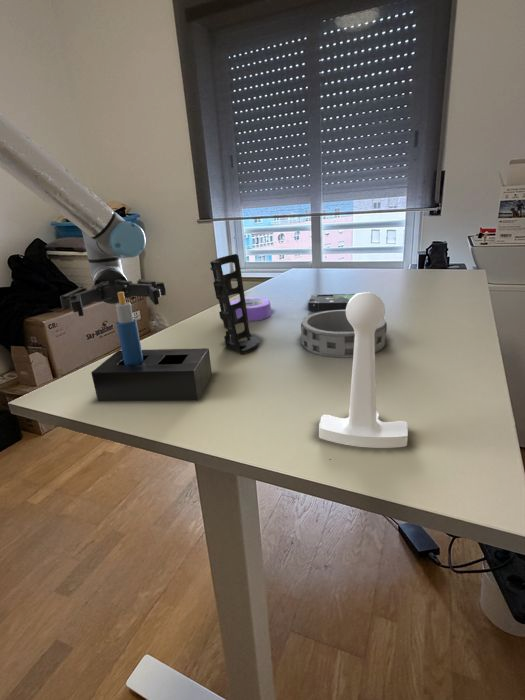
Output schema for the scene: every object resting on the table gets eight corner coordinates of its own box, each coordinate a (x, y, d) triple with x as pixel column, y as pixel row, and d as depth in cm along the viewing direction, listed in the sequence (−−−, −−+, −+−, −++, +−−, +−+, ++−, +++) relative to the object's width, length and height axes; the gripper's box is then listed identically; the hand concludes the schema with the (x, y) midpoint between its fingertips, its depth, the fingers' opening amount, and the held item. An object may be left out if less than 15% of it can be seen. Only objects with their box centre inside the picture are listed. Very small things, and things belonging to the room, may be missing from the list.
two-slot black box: (198, 404, 66) (193, 370, 64) (98, 404, 69) (91, 372, 67) (212, 378, 76) (208, 348, 74) (124, 379, 78) (118, 350, 76)
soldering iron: (127, 395, 71) (106, 294, 65) (134, 387, 74) (115, 290, 68) (144, 394, 71) (125, 294, 65) (151, 386, 74) (133, 289, 68)
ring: (291, 335, 96) (290, 315, 94) (361, 325, 99) (361, 305, 98) (319, 363, 79) (319, 339, 77) (403, 349, 83) (404, 326, 81)
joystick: (317, 446, 53) (314, 297, 46) (325, 417, 60) (323, 283, 53) (407, 456, 50) (418, 297, 43) (404, 424, 57) (414, 282, 50)
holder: (258, 353, 86) (241, 258, 79) (223, 358, 86) (203, 264, 80) (260, 336, 96) (245, 251, 89) (229, 341, 97) (211, 257, 90)
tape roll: (274, 319, 110) (273, 305, 109) (231, 323, 108) (230, 309, 107) (267, 308, 121) (266, 295, 119) (228, 312, 119) (227, 299, 118)
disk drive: (308, 312, 114) (362, 311, 111) (307, 303, 113) (362, 301, 110) (311, 303, 123) (361, 302, 120) (310, 294, 122) (361, 292, 119)
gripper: (167, 293, 100) (187, 311, 81) (55, 309, 91) (50, 334, 72) (162, 262, 97) (182, 274, 78) (47, 275, 88) (39, 292, 70)
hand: (119, 303), depth 75 cm, fingers open, 13 cm apart
